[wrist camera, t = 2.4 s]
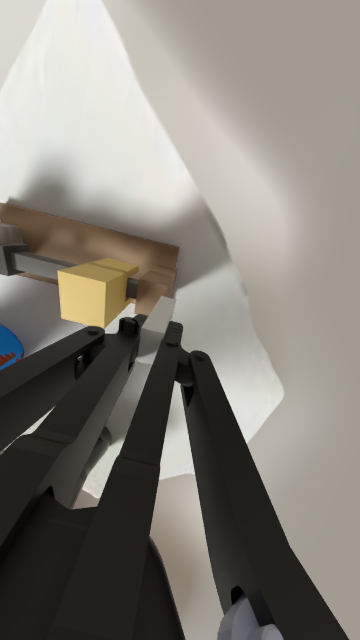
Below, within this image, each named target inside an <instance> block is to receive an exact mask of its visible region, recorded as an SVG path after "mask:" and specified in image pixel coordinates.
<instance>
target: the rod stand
mask: <svg viewBox="0 0 360 640" xmlns="http://www.w3.org/2000/svg"><path fill="white" fill-rule="evenodd" d="M0 221H1V222H0V274H2V275H6V276H11V275H15V274H16V275H20V276H24V277H28V278H32V279H36V280H40V281H44V282H48V283H52V284H56V285H59V283H58V270H62V269H66V268H70V267H74V266H78V265H82V264H86V263H90V262H94V261H98V260H102V259H106V258H110V259H114V260H118V261H122V262H126V263H130V264H134V265H138V266H139V270H138V272H137V273H136V274H134V275H133V276H131V277H129V278H128V279H127V287H126V297H129V298H133V299H134V300H133V301H132V302H131V303H133V304H135V313H134V314H143V315H147V316H149V315H150V313H151V311H152V310H153V308H154V307H155V305H156V303H157V302H158V300H159V299H160V297H161V296H164V297H168V298H171V296H172V292H173V288H174V283H175V278H176V274H177V270H176V269H175V265H176V261H177V256H178V251H179V247H176V246H172V245H168V244H164V243H160V242H156V241H152V240H148V239H144V238H140V237H136V236H132V235H128V234H124V233H120V232H116V231H112V230H108V229H104V228H100V227H96V226H92V225H88V224H85V223H81V222H77V221H73V220H69V219H65V218H61V217H57V216H53V215H49V214H45V213H41V212H37V211H33V210H29V209H25V208H21V207H17V206H13V205H9V204H5V203H0Z"/></svg>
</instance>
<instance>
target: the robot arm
mask: <svg viewBox="0 0 360 640" xmlns="http://www.w3.org/2000/svg"><path fill="white" fill-rule="evenodd" d="M175 303H176V299H172V298H168V297H164V296H161V297H160V299H159V300H158V302H157V303H156V305H155V307H154V308H153V310H152V311H151V313H150V315H149V316H147V315H143V314H138V315H136V316H135V317H134V318H131V317H125V318H121V319H120V320H119V331H118V332H117V333H116V334H105V330H104V329H103V328H101V327H98V326H88V327H85V328H83V329H81V330H79V331H77V332H75V333H73V334H71V335H69V336H67V337H65V338H63V339H61V340H59V341H57V342H55V343H53V344H51V345H49V346H47V347H45V348H43V349H41V350H39V351H37V352H35V353H33V354H31V355H29V356H27V357H25V358H23V359H21V360H19V361H17V362H15V363H13V364H11V365H9V366H7V367H5V368H3V369H2V370H0V640H185V636H184V633H183V629H182V626H181V622H180V619H179V616H178V612H177V608H176V605H175V602H174V598H173V595H172V591H171V588H170V585H169V581H168V577H167V574H166V571H165V567H164V564H163V561H162V558H161V556H160V553H159V551H158V549H157V547H156V545H155V543H154V542H153V540H152V539H151V537H150V536H149V534H150V529H151V523H152V517H153V511H154V505H155V499H156V493H157V487H158V481H159V475H160V461H161V455H162V449H163V444H164V438H165V432H166V426H167V421H168V415H169V409H170V404H171V398H172V392H173V387H174V381H177V382H178V383H180V384H181V386H180V387H181V393H182V399H183V405H184V411H185V417H186V423H187V428H188V434H189V440H190V446H191V452H192V458H193V464H194V470H195V476H196V482H197V487H198V493H199V499H200V505H201V511H202V517H203V523H204V529H205V535H206V540H207V546H208V552H209V557H210V562H211V567H212V572H213V577H214V581H215V585H216V588H217V592H218V596H219V599H220V603H221V607H222V610H223V613H224V617H223V619H222V621H221V624H220V627H219V631H218V638H217V640H349V639H348V637H347V635H346V634H345V632H344V631H343V629H342V628H341V626H340V624H339V623H338V621H337V620H336V618H335V617H334V615H333V613H332V612H331V610H330V609H329V607H328V606H327V604H326V603H325V601H324V599H323V598H322V596H321V595H320V593H319V591H318V590H317V588H316V587H315V585H314V584H313V582H312V580H311V579H310V577H309V576H308V575H307V573H306V571H305V570H304V568H303V566H302V565H301V563H300V562H299V560H298V559H297V557H296V556H295V554H294V552H293V551H292V549H291V548H290V546H289V543H288V541H287V538H286V536H285V534H284V531H283V529H282V527H281V524H280V522H279V520H278V518H277V515H276V512H275V510H274V508H273V505H272V503H271V501H270V499H269V496H268V494H267V491H266V489H265V486H264V484H263V482H262V480H261V477H260V475H259V472H258V470H257V468H256V466H255V463H254V461H253V458H252V456H251V454H250V451H249V449H248V446H247V444H246V442H245V439H244V437H243V435H242V432H241V430H240V428H239V425H238V423H237V420H236V418H235V416H234V413H233V411H232V409H231V406H230V404H229V402H228V399H227V397H226V395H225V392H224V390H223V387H222V385H221V383H220V380H219V378H218V376H217V373H216V371H215V369H214V366H213V364H212V361H211V359H210V357H209V356H208V355H207V354H206V353H204V352H202V351H198V350H197V351H192V352H191V353H188V352H186V351H185V350H184V349H182V347H181V345H180V343H181V337H182V332H183V326H182V324H181V323H177V322H173V321H172V316H173V312H174V308H175ZM81 355H82V357H81V358H79V359H77V358H78V357H80V356H81ZM136 357H137V360H136V361H138V362H142V363H146V364H150V365H152V367H151V370H150V372H149V375H148V378H147V381H146V383H145V386H144V389H143V392H142V394H141V397H140V400H139V402H138V405H137V408H136V411H135V413H134V416H133V419H132V421H131V424H130V427H129V430H128V432H127V435H126V438H125V441H124V443H123V446H122V449H121V451H120V454H119V455H118V456H117V458H116V460H115V462H114V464H113V466H112V469H111V472H110V474H109V477H108V479H107V482H106V485H105V487H104V490H103V493H102V495H101V498H100V501H99V503H98V506H97V507H89V508H81V509H73V507H74V504H75V502H76V500H77V498H78V495H79V493H80V491H81V489H82V487H83V485H84V482H85V480H86V478H87V476H88V474H89V473H90V471H91V470H92V469H93V468H94V466H95V465H96V464H97V463H98V461H99V460H100V459H101V457H102V456H103V455H104V454H105V452H106V451H107V449H108V446H109V444H110V442H111V435H110V433H109V431H108V430H107V428H106V427H105V424H106V422H107V420H108V418H109V416H110V413H111V411H112V409H113V407H114V405H115V403H116V401H117V399H118V397H119V395H120V393H121V391H122V389H123V387H124V385H125V383H126V381H127V379H128V377H129V375H130V373H131V371H132V369H133V367H134V363H135V359H136ZM53 407H54V409H53V410H52V411H51V412H50V413H49V415H48V416H47V417H46V418H45V419H44V421H43V422H42V423H41V424H40V425H39V427H38V428H37V429H36V430H35V431H34V432H33V433H31V434H27V435H22V436H20V435H21V434H22V433H24V432H25V431H26V430H27V429H28V428H30V427H31V426H32V425H33V424H34V423H36V422H37V421H38V420H39V419H40V418H42V417H43V416H44V415H45V414H46V413H47V412H49V411H50V410H51V409H52V408H53ZM19 436H20V437H19ZM18 437H19V438H18ZM16 438H17V439H16ZM15 439H16V440H15ZM14 440H15V441H14ZM13 441H14V442H13ZM12 442H13V443H12ZM10 443H12V444H11V445H10V446H9V447H8V448H7V449H6V450H4V448H6V447H7V446H8V445H9V444H10Z"/></svg>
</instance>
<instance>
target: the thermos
mask: <svg viewBox="0 0 360 640" xmlns="http://www.w3.org/2000/svg"><path fill="white" fill-rule="evenodd" d="M22 357H23V348H22V345H21V343H20V341H19V340H18V338H17V337H16V336H15V335H14V334H13V333H12V332H11V331H10V330H8V329H7V328H5V327H3V326H1V325H0V370H2V369H3V368H5V367H7V366H9V365H11V364H13V363H15V362H17V361H19V360H21V359H22Z"/></svg>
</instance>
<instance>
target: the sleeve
mask: <svg viewBox="0 0 360 640" xmlns="http://www.w3.org/2000/svg"><path fill="white" fill-rule="evenodd" d="M138 270H139V266H138V265H134V264H130V263H126V262H122V261H118V260H114V259H110V258H106V259H102V260H98V261H94V262H90V263H86V264H82V265H78V266H74V267H70V268H66V269H62V270H58V283H59V296H60V308H61V319H66V320H70V321H74V322H78V323H82V324H86V325H90V326H98V327H101V328H103V329H104V328H105V327H106V326H107V325H108V324H109V323H111V322H112V321H113V320H114V319H115V318H116V317H117V316H118V315H119V314H120V313H121V312H122V311H123V310H124V309H125V308H126V307H127V306H128V305H129V304H130V303H131V302H132V301H133V300H134V299H133V298H129V297H126V287H127V279H128V278H129V277H131V276H133V275H134V274H136V273H137V272H138Z"/></svg>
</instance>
